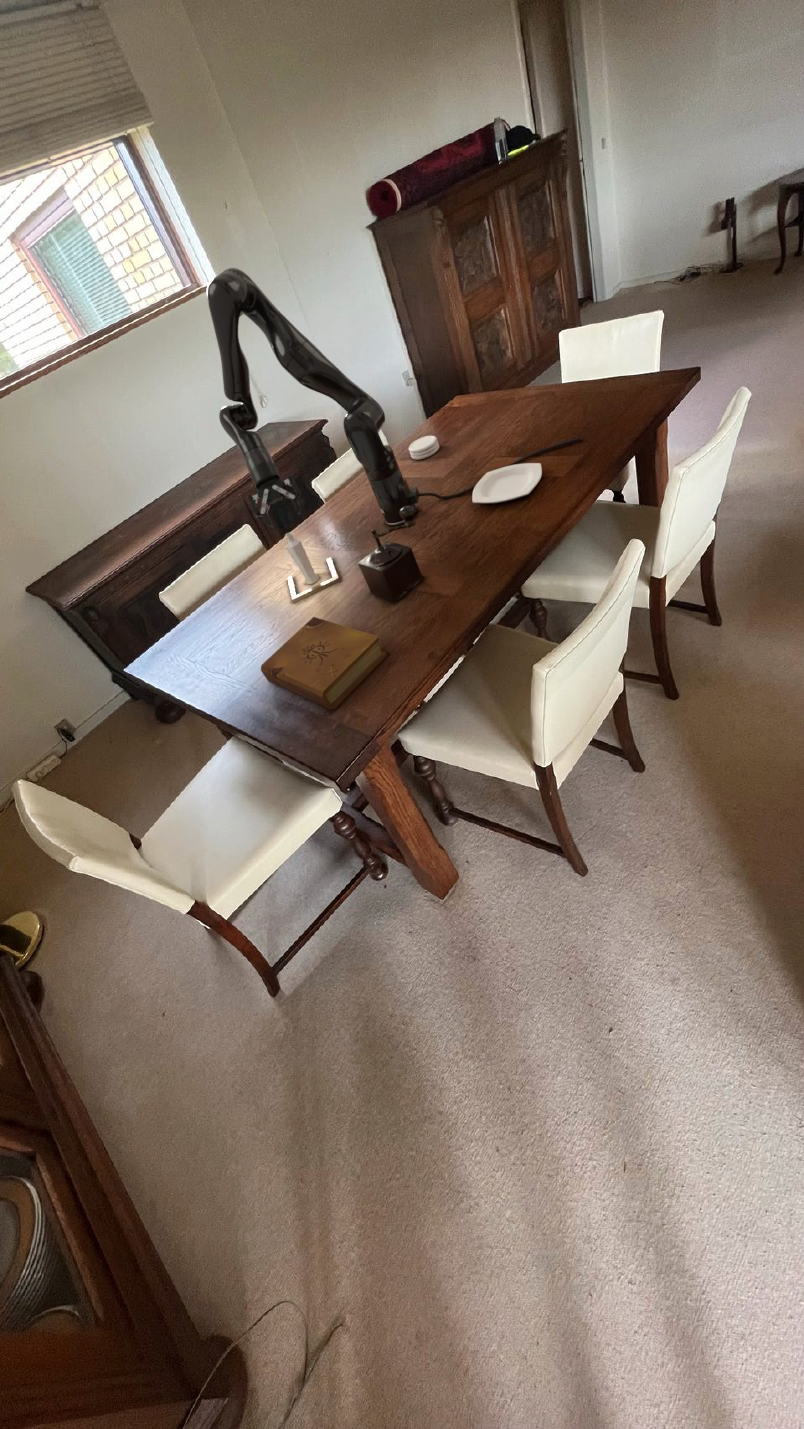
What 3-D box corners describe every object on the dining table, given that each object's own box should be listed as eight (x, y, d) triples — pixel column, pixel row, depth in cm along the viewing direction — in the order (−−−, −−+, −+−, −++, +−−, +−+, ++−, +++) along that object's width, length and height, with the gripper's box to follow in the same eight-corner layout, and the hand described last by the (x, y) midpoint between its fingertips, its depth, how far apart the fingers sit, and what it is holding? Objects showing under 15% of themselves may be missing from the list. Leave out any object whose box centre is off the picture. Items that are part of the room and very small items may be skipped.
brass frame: (288, 580, 181) (286, 578, 181) (332, 560, 181) (330, 557, 180) (293, 602, 171) (291, 600, 171) (340, 581, 171) (338, 578, 170)
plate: (466, 512, 172) (464, 506, 171) (484, 476, 183) (482, 470, 182) (534, 502, 163) (533, 496, 161) (549, 465, 174) (548, 458, 173)
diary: (270, 685, 148) (258, 667, 144) (323, 634, 155) (313, 616, 151) (331, 712, 133) (320, 693, 129) (387, 655, 140) (377, 635, 136)
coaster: (444, 443, 210) (441, 433, 208) (431, 459, 205) (427, 449, 203) (420, 446, 216) (417, 436, 213) (406, 461, 211) (402, 451, 209)
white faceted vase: (318, 583, 174) (293, 537, 164) (304, 586, 176) (279, 540, 166) (322, 573, 177) (298, 527, 167) (308, 576, 179) (284, 531, 169)
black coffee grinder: (396, 603, 153) (369, 541, 141) (370, 593, 160) (341, 533, 149) (440, 567, 157) (417, 503, 146) (412, 559, 165) (388, 497, 153)
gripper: (235, 474, 172) (258, 526, 171) (281, 451, 172) (305, 503, 170) (243, 485, 180) (266, 535, 179) (288, 463, 179) (311, 513, 178)
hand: (285, 520), depth 175 cm, fingers open, 8 cm apart
